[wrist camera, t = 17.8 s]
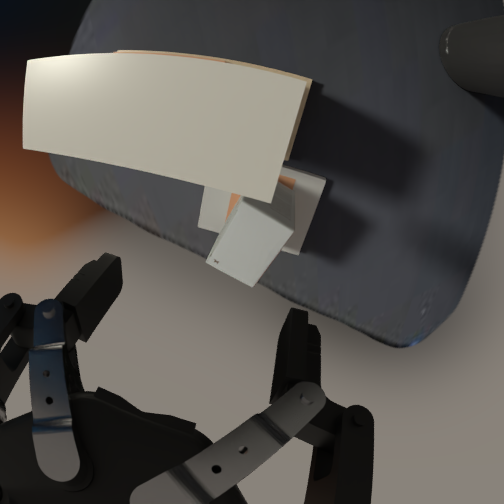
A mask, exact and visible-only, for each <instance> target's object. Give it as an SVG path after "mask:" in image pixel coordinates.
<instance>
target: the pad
mask: <svg viewBox="0 0 504 504" xmlns="http://www.w3.org/2000/svg"><path fill="white" fill-rule="evenodd" d="M278 182H280V183H282V184H283V185H285V186H287V187H288V188H290V189H291V190H293V191H295V232H294V233H293V235H292V236H291V237H290V239H289V240H288V241H287V243H286V244H285V245H284V247H283V248H282V251H285V252H289V253H292V254H296V255H299V252H300V249H301V247H302V244H303V242H304V239H305V237H306V234H307V231H308V229H309V226H310V223H311V221H312V218H313V215H314V213H315V210H316V207H317V205H318V202H319V199H320V197H321V194H322V191H323V188H324V186H325V183H326V178H325V177H322V176H319V175H316V174H313V173H310V172H306V171H303V170H300V169H297V168H293V167H290V166H287V165H283V164H282V168H281V171H280V175H279V178H278ZM240 196H241V195H238V194H235V193H231V192H227V191H223V190H220V189H216V188H212V187H208V186H205V188H204V194H203V200H202V205H201V211H200V217H199V223H198V227H200V228H203V229H207V230H211V231H214V232H218V233H220V231H221V230H222V228H223V226H224V224H225V222H226V220H227V218H228V216H229V215H230V213H231V211H232V209H233V208H234V206H235V204H236V203H237V201H238V199H239V198H240Z"/></svg>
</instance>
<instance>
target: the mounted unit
mask: <svg viewBox="0 0 504 504" xmlns="http://www.w3.org/2000/svg"><path fill="white" fill-rule="evenodd" d="M311 83H312V79H309V78H305V77H302V76H298V75H295V74H291V73H287V72H284V71H280V70H276V69H272V68H267V67H263V66H259V65H254V64H249V63H244V62H239V61H233V60H228V59H222V58H215V57H209V56H201V55H193V54H184V53H173V52H160V51H139V50H118V52H114V53H100V54H79V55H67V56H56V57H48V58H40V59H34V60H28V63H27V70H26V79H25V90H24V106H23V148H24V149H30V150H37V151H43V152H49V153H55V154H60V155H66V156H72V157H77V158H82V159H88V160H93V161H98V162H103V163H108V164H113V165H118V166H122V167H127V168H132V169H136V170H141V171H145V172H150V173H154V174H159V175H163V176H167V177H171V178H176V179H180V180H184V181H188V182H192V183H196V184H200V185H204V186H208V187H212V188H216V189H220V190H223V191H227V192H231V193H235V194H238V195H242V196H246V197H249V198H253V199H257V200H260V201H264V202H267V203H271V201H272V198H273V195H274V191H275V188H276V185H277V181H278V178H279V175H280V171H281V168H282V164H283V161H284V160H287V161H288V160H289V157H290V153H291V150H292V147H293V143H294V140H295V137H296V133H297V130H298V127H299V123H300V120H301V117H302V113H303V110H304V106H305V103H306V100H307V96H308V93H309V90H310V86H311Z"/></svg>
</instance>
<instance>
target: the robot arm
mask: <svg viewBox="0 0 504 504" xmlns="http://www.w3.org/2000/svg"><path fill="white" fill-rule="evenodd" d="M439 48H440V56H441V60H442V63H443V65H444V68H445V69H446V71H447V73H448V75H449V76H450V77H451V78H452V80H453V81H454V82H455V83H457V84H458V85H459V86H460V87H462V88H463V89H465V90H468V91H471V92H477V93H483V94H488V95H493V96H498V97H503V98H504V15H501V16H495V17H490V18H485V19H480V20H475V21H471V22H466V23H462V24H458V25H455V26H451V27H449V28H448V29H446V30H445V31H444V33H443V34H442V36H441V39H440V45H439ZM122 284H123V279H122V267H121V259H120V257H117V256H115V255H112V254H109V253H104V254H103V255H102V256H101V257H100V258H99V259H98V260H97V261H95V260H93V261H91V262H89V263H87V264H85V265H84V266H83V267H82V268H81V269H80V271H79V272H78V273H77V274H76V275H75V276H74V277H73V279H71V280H70V281H69V283H68V284H67V285H66V286H65V287H64V288H63V289H62V291H61V292H60V293H59V294H58V295H57V296H56V298H55V299H45V300H43V301H41V302H40V303H39V304H38V305H32V304H26V303H23V301H22V299H21V297H20V295H18V294H16V293H9V294H7V295H5V296H3V297H2V298H1V299H0V350H1V347H2V346H3V344H4V343H5V341H6V340H7V338H8V337H9V335H10V334H11V336H12V337H11V338H10V340H9V341H8V343H7V344H6V346H5V347H4V349H3V350H2V352H1V353H0V504H247V502H246V500H245V498H244V497H243V495H242V493H241V491H240V490H239V488H238V486H237V483H238V482H240V481H241V480H242V479H244V478H245V477H246V476H248V475H249V474H250V473H252V472H253V471H254V470H255V469H257V468H258V467H259V466H260V465H261V464H263V463H264V462H265V461H266V460H267V459H269V458H270V457H271V456H272V455H273V454H275V453H276V452H277V451H278V450H279V449H280V448H281V447H283V446H284V445H285V444H286V443H287V442H288V441H289V440H290V439H292V437H296V438H298V439H300V440H303V441H305V442H307V443H309V444H311V445H313V453H312V460H311V466H310V473H309V479H308V485H307V491H306V496H305V502H304V504H371V493H372V479H373V459H374V457H373V456H374V419H373V416H372V414H371V412H370V411H369V410H368V409H367V408H365V407H363V406H360V405H352V406H350V407H348V408H345V407H343V406H341V405H338V404H336V403H334V402H332V401H330V400H329V399H328V398H327V397H326V396H325V393H324V391H323V390H322V389H321V355H320V354H321V347H320V346H321V335H320V333H319V331H318V329H317V326H315V325H312V324H308V312H307V311H304V310H300V309H296V308H291V309H290V311H289V313H288V315H287V318H286V320H285V322H284V325H283V327H282V329H281V332H280V335H279V339H278V345H277V352H276V360H275V368H274V375H273V381H272V389H271V396H270V402H269V404H272V405H271V406H269V407H268V408H267V409H265V410H264V411H263V412H261V413H260V414H255V415H254V416H252V417H251V418H249V419H248V420H247V421H245V422H244V423H242V424H241V425H240V426H239V427H237V428H236V429H234V430H233V431H231V432H230V433H229V434H227V435H226V436H224V437H223V438H221V439H220V440H218V441H217V442H215V443H214V444H213V442H212V441H211V440H210V439H209V438H207V437H206V436H205V435H204V434H202V433H201V432H199V431H198V430H196V429H195V426H196V423H193V422H190V421H187V420H183V419H180V418H177V417H174V416H171V415H163V414H154V413H147V412H142V411H140V410H139V409H137V408H136V407H135V406H133V405H132V404H130V403H129V402H127V401H126V400H125V399H123V398H122V397H120V396H119V395H116V394H114V393H112V392H109V391H107V390H105V389H103V388H100V387H98V388H97V390H96V392H91V391H86V392H85V391H84V388H83V385H82V382H81V378H80V371H79V365H78V358H77V350H76V345H75V343H76V342H77V340H78V339H80V340H82V341H84V342H87V341H88V339H89V338H90V336H91V334H92V333H93V331H94V330H95V328H96V327H97V325H98V324H99V322H100V321H101V320H102V318H103V317H104V315H105V314H106V312H107V311H108V309H109V308H110V306H111V305H112V304H113V302H114V301H115V299H116V298H117V297H118V295H119V293H120V292H121V289H122ZM28 361H29V379H30V393H31V404H32V411H31V412H29V413H26V414H24V415H21V416H19V417H17V418H14V419H11V420H9V421H6V420H7V416H6V407H5V403H6V401H7V399H8V397H9V395H10V393H11V391H12V389H13V388H14V385H15V384H16V382H17V380H18V379H19V377H20V375H21V373H22V371H23V370H24V368H25V366H26V365H27V363H28Z"/></svg>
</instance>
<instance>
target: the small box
mask: <svg viewBox="0 0 504 504" xmlns="http://www.w3.org/2000/svg"><path fill="white" fill-rule="evenodd" d="M294 232H295V191H293V190H291V189H290V188H288V187H287V186H285V185H283V184H282V183H280V182H278V181H277V185H276V188H275V191H274V195H273V198H272V201H271V203H267V202H264V201H260V200H257V199H253V198H249V197H246V196H242V195H241V196H240V198H239V199H238V201H237V203H236V204H235V206H234V208H233V209H232V211H231V213H230V215H229V216H228V218H227V220H226V222H225V224H224V226H223V228H222V230H221V231H220V233H219V235H218V237H217V239H216V241H215V244H214V246H213V248H212V250H211V252H210V254H209V256H208V258H207V260H206V263H208V264H209V265H211V266H213V267H215V268H217V269H218V270H220V271H222V272H224V273H226V274H228V275H230V276H231V277H233V278H235V279H237V280H239V281H241V282H243V283H245V284H247V285H249V286H251V287H254V286H255V285H256V283H257V282H258V281H259V279H260V278H261V277H262V275H263V274H264V273H265V271H266V270H267V268H268V267H269V266H270V264H271V263H272V262H273V260H274V259H275V258H276V256H277V255H278V254H279V252H280V251H281V250H282V248H283V247H284V245H285V244H286V243H287V241H288V240H289V239H290V237H291V236H292V235H293V233H294Z"/></svg>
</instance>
